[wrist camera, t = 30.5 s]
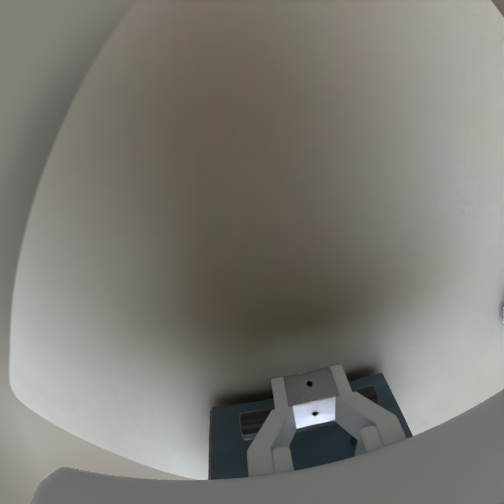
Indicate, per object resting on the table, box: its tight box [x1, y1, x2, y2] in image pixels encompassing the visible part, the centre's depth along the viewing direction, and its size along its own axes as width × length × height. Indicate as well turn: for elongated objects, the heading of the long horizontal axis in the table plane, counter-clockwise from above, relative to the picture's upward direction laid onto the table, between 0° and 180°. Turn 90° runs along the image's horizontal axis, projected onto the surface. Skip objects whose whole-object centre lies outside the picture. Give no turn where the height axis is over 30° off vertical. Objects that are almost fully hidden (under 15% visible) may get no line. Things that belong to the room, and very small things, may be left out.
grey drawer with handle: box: [210, 373, 413, 480], centre depth 16 cm, size 18×11×7 cm, turn 10°
